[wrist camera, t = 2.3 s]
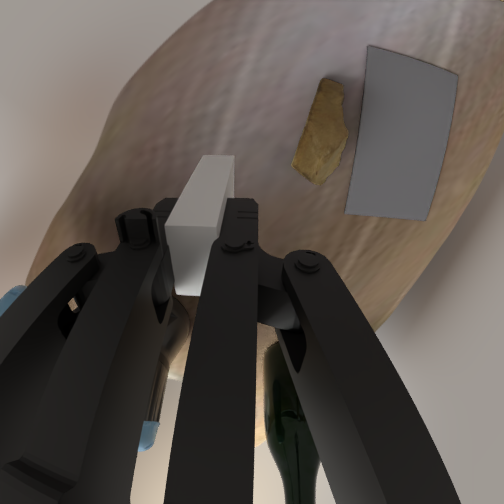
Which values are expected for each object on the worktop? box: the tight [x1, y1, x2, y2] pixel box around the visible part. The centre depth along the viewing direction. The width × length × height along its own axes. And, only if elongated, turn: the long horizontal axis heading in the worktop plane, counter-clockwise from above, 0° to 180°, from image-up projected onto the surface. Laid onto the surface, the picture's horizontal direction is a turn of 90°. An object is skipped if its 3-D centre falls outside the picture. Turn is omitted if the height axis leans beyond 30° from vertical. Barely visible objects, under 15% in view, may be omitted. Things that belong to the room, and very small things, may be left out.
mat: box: [344, 46, 458, 221], centre depth 28 cm, size 12×20×1 cm, turn 178°
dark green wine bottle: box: [263, 343, 321, 504], centre depth 37 cm, size 10×10×33 cm
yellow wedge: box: [291, 78, 348, 185], centre depth 25 cm, size 11×9×10 cm
